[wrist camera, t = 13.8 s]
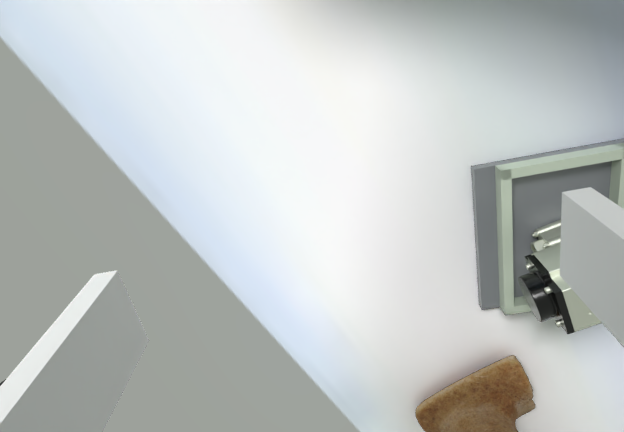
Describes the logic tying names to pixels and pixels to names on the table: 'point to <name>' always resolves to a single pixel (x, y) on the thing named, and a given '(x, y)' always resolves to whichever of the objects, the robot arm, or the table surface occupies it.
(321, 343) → the table surface
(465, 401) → the stone cup
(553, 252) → the pneumatic valve
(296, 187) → the table surface
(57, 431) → the robot arm
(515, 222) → the docking tray
